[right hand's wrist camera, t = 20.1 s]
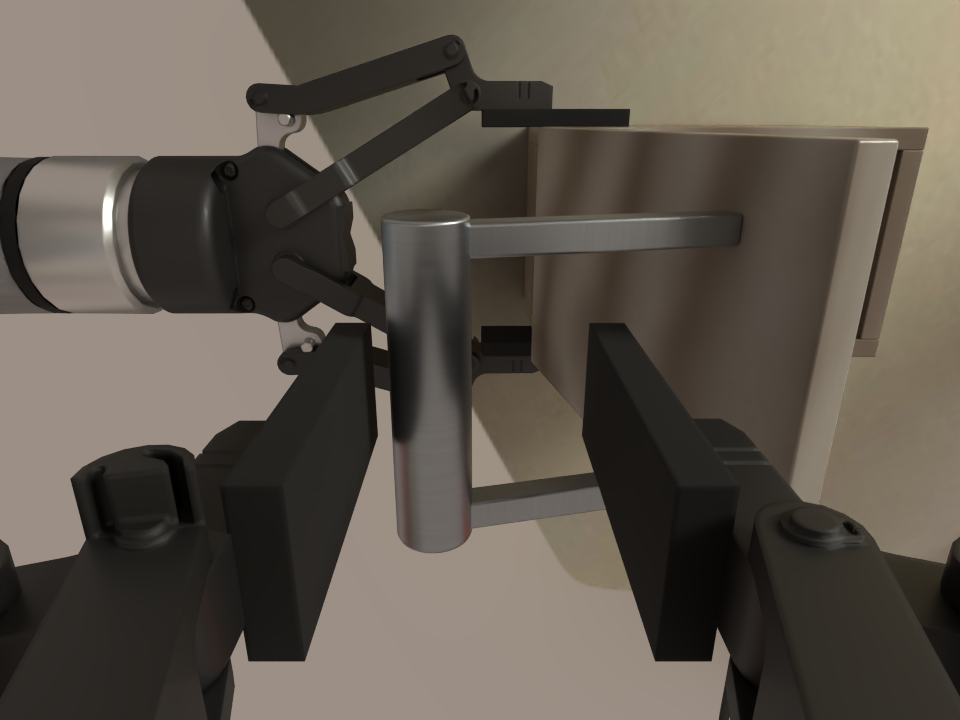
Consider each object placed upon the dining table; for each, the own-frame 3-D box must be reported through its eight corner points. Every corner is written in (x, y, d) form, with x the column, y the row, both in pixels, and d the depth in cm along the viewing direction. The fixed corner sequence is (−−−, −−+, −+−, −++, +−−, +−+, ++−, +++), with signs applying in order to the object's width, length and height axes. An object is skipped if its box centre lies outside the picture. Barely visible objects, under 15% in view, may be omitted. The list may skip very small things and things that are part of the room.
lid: (902, 139, 11) (395, 142, 9) (795, 615, 14) (418, 689, 12) (558, 127, 26) (345, 127, 24) (548, 360, 30) (362, 375, 28)
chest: (808, 125, 36) (929, 127, 26) (778, 299, 40) (875, 357, 30) (528, 125, 36) (546, 126, 26) (523, 298, 40) (538, 357, 30)
